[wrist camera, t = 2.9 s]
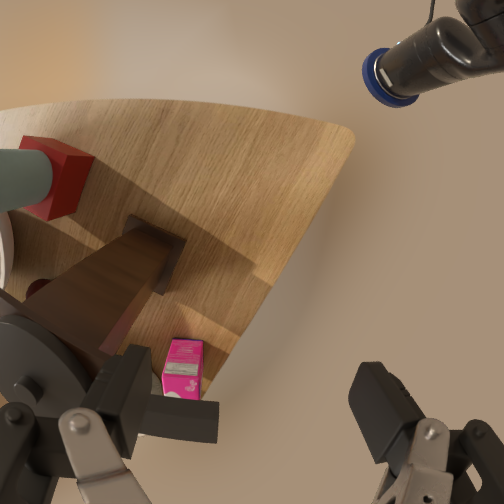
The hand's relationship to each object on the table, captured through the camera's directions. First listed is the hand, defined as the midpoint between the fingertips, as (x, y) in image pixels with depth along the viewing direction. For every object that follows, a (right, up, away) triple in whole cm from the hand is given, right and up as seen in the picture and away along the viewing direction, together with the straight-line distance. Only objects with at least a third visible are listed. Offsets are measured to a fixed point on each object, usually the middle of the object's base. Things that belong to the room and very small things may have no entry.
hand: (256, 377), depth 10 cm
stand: (-17, +4, +36) cm, 40 cm away
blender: (-32, +18, +31) cm, 48 cm away
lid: (-11, -5, +5) cm, 13 cm away
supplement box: (-12, -13, +41) cm, 45 cm away
